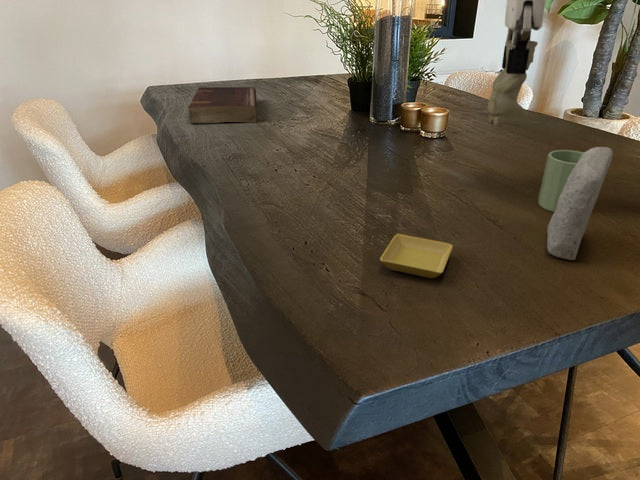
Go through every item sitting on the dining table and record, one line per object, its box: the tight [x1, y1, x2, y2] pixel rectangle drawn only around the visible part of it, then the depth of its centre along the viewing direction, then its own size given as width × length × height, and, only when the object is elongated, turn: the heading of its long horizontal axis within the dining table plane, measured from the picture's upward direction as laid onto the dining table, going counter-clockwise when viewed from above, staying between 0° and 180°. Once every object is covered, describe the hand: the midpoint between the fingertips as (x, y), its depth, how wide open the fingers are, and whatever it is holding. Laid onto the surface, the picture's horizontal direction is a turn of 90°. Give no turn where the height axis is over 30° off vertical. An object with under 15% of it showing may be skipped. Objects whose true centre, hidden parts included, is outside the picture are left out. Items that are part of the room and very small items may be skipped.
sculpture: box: [486, 39, 539, 128], centre depth 89 cm, size 6×7×15 cm
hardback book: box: [188, 86, 258, 124], centre depth 151 cm, size 29×19×5 cm, turn 7°
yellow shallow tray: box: [379, 233, 454, 279], centre depth 69 cm, size 9×9×2 cm
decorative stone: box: [546, 146, 614, 261], centre depth 71 cm, size 11×6×15 cm, turn 150°
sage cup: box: [537, 149, 585, 213], centre depth 86 cm, size 8×8×9 cm
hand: (513, 70), depth 88 cm, fingers closed on sculpture, 5 cm apart
